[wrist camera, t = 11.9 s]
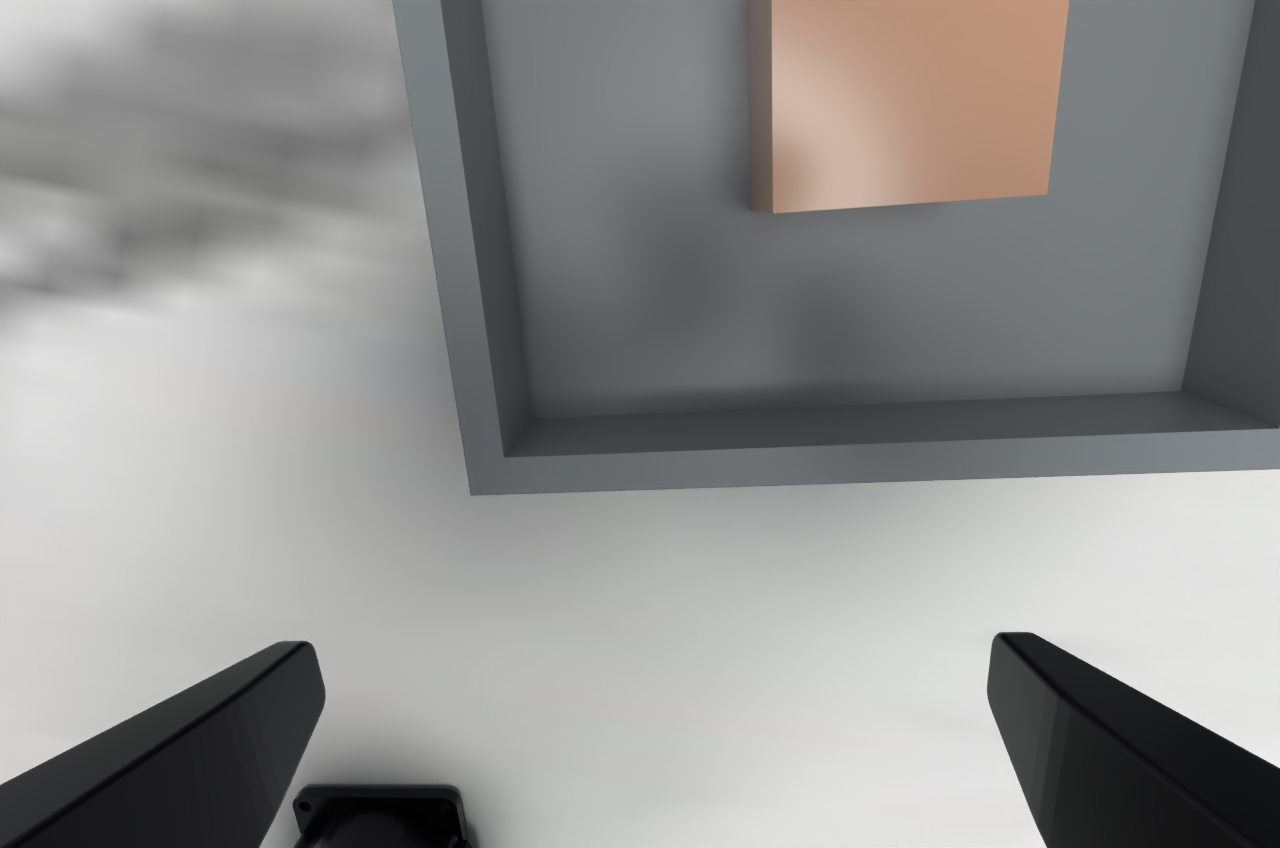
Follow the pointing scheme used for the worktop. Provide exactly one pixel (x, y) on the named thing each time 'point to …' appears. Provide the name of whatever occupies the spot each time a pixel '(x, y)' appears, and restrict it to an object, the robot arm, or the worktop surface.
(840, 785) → the worktop surface
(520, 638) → the worktop surface
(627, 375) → the bin
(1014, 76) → the brown block
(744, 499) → the worktop surface
